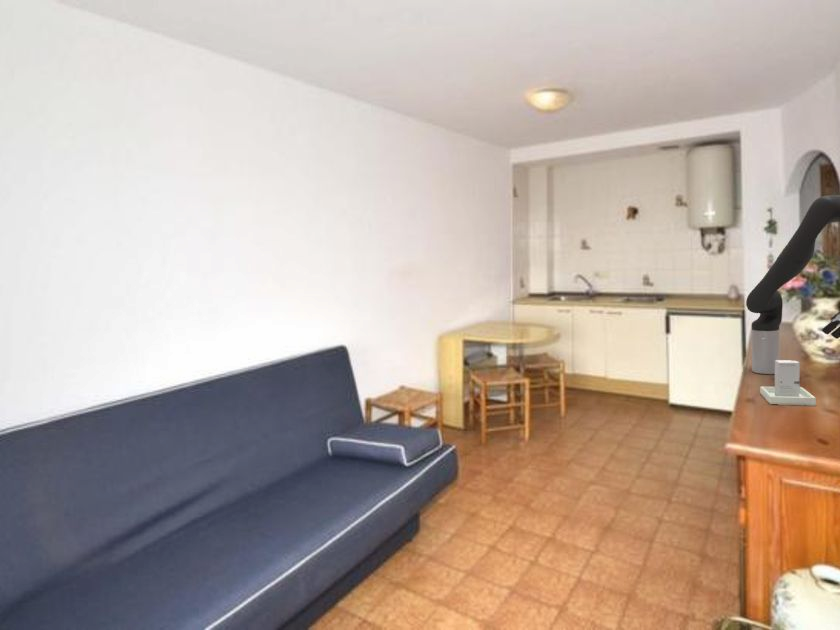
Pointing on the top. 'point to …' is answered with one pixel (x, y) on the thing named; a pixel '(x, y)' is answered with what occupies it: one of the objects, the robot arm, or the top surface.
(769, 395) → the tray
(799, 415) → the top surface
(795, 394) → the skincare box
